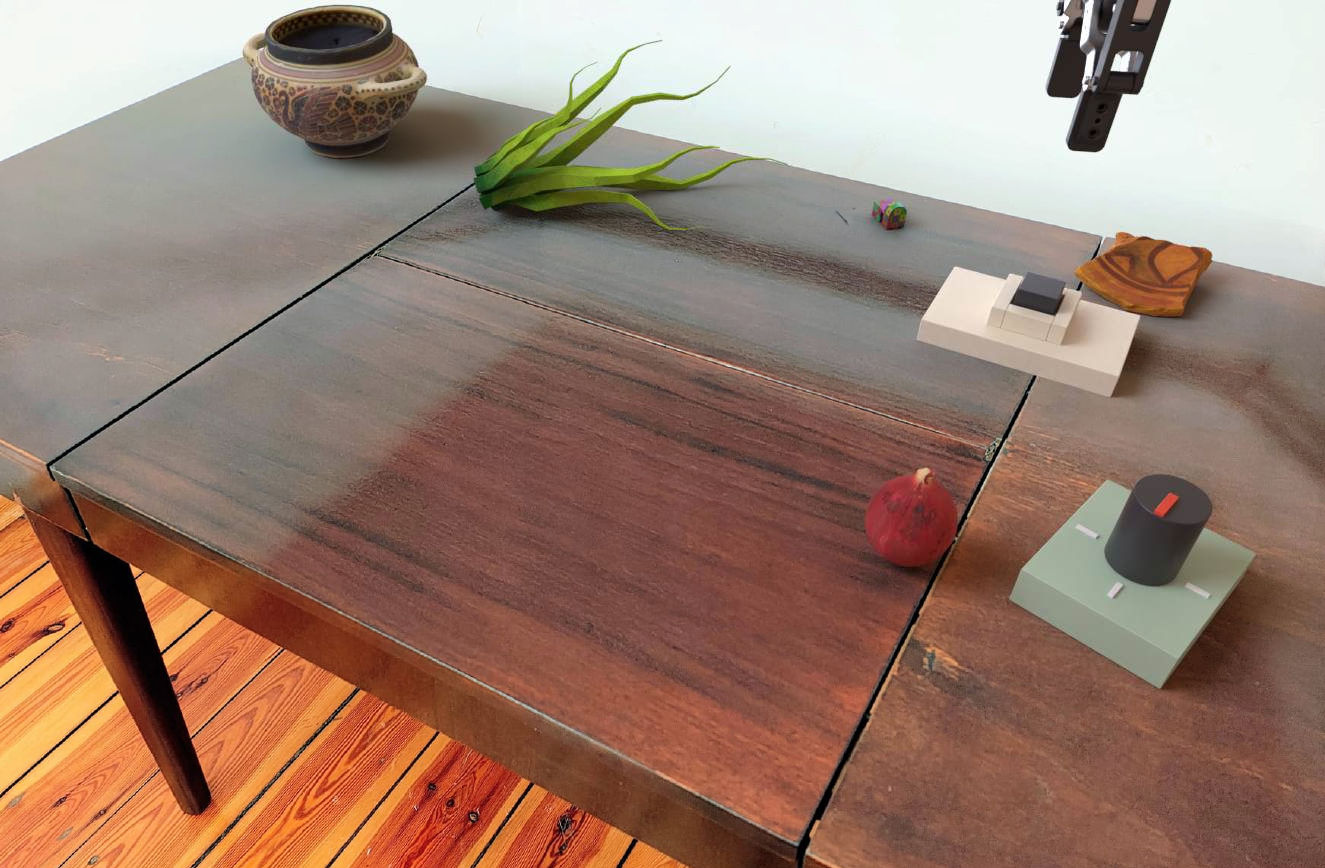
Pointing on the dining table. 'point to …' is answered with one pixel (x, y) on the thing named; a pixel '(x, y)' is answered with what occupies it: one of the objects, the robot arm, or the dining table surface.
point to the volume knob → (1157, 529)
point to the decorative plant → (540, 178)
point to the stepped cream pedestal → (1030, 331)
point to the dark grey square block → (1039, 293)
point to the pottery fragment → (1146, 274)
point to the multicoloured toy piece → (889, 213)
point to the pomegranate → (911, 519)
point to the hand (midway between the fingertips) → (1071, 121)
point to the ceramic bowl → (334, 77)
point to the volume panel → (1127, 591)
